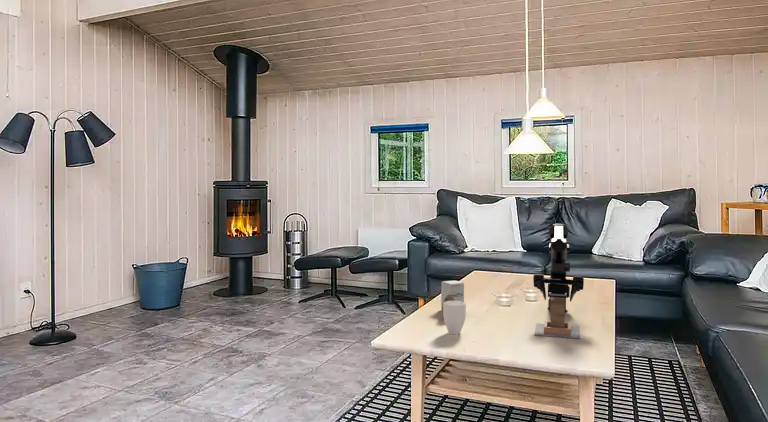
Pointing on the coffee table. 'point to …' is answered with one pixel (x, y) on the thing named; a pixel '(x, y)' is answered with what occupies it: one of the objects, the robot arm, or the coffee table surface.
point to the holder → (557, 331)
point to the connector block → (557, 312)
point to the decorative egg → (448, 299)
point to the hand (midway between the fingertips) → (557, 300)
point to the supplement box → (452, 290)
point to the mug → (454, 316)
